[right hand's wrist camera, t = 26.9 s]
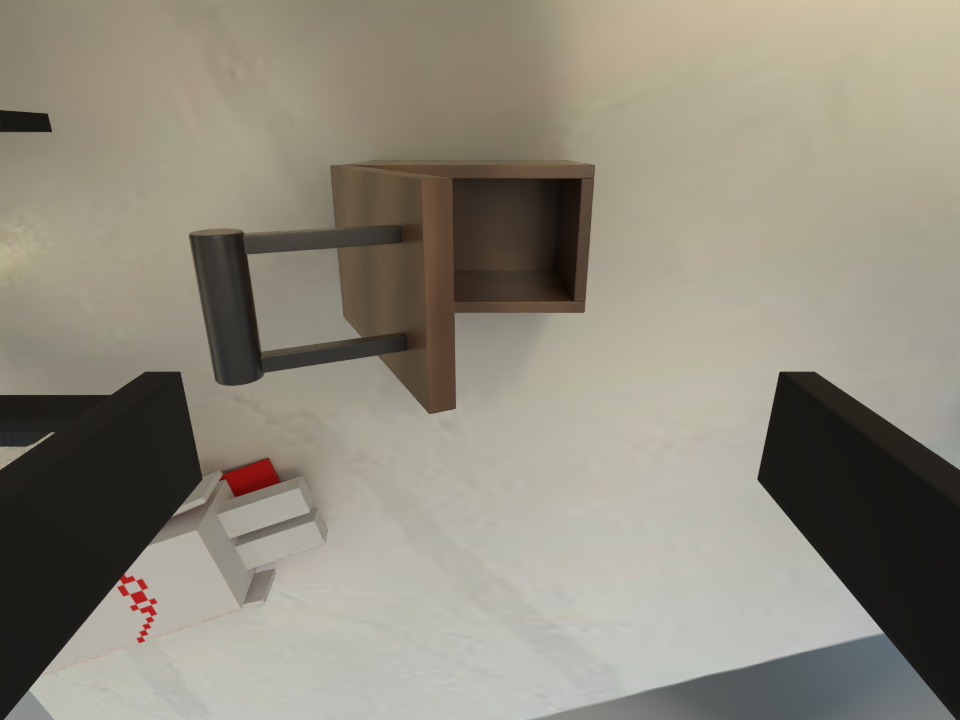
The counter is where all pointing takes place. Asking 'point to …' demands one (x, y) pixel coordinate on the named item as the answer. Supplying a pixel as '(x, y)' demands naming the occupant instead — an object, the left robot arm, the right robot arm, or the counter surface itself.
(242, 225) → the counter surface
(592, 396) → the counter surface
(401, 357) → the lid
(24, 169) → the counter surface
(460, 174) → the chest
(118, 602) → the toy
